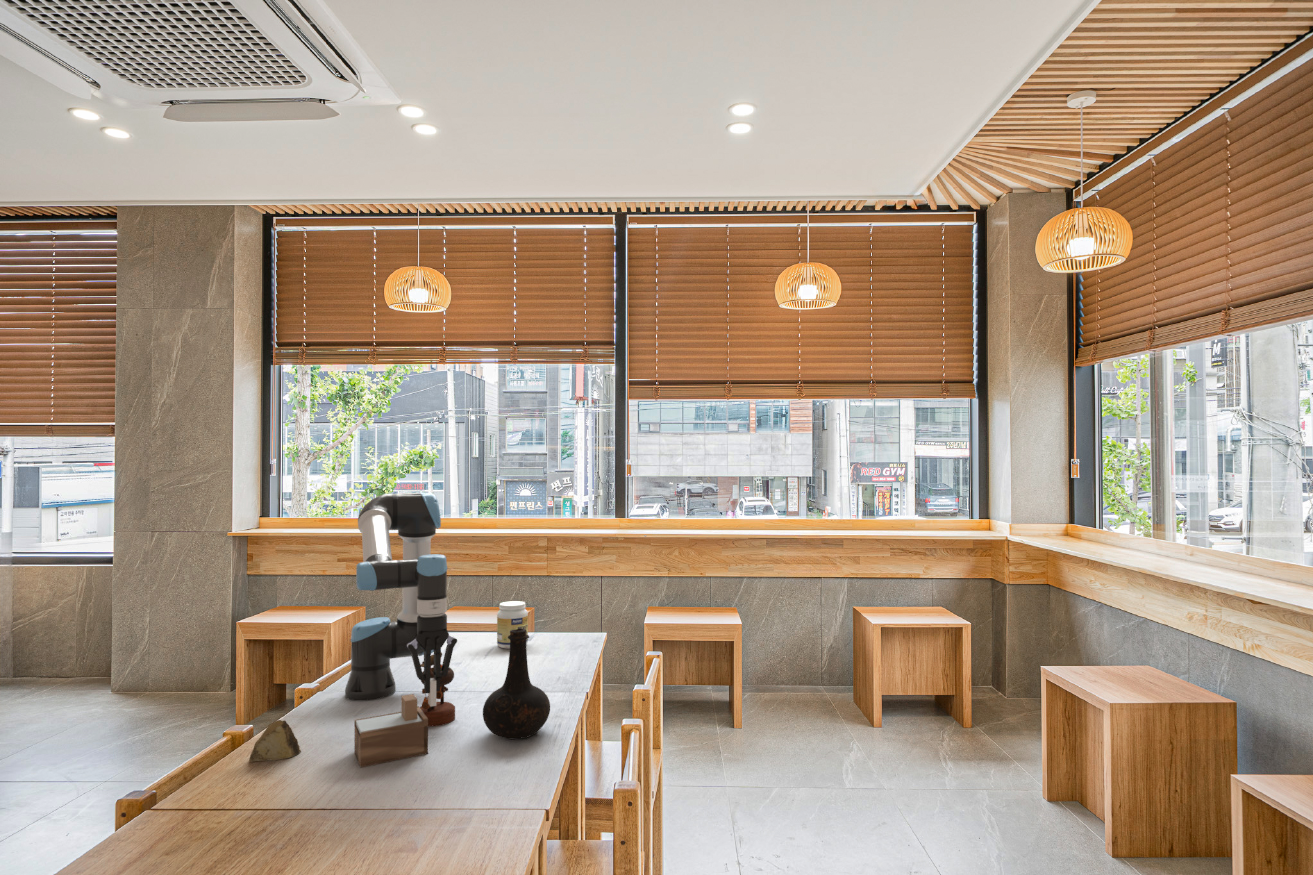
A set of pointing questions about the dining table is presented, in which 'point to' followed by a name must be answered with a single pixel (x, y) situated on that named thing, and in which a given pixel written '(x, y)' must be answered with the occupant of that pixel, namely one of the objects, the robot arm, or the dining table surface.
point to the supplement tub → (510, 621)
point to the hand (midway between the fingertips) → (432, 704)
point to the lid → (393, 716)
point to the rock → (275, 743)
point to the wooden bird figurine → (442, 710)
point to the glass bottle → (516, 697)
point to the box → (391, 742)
